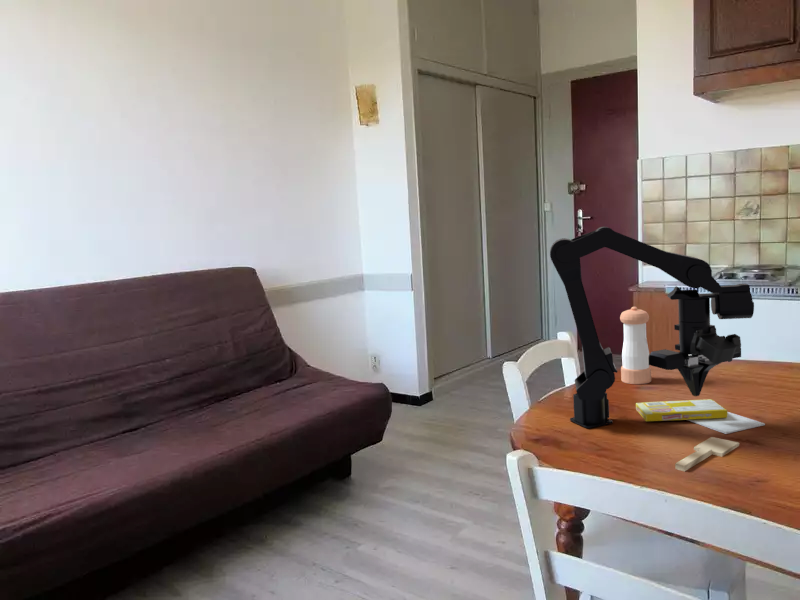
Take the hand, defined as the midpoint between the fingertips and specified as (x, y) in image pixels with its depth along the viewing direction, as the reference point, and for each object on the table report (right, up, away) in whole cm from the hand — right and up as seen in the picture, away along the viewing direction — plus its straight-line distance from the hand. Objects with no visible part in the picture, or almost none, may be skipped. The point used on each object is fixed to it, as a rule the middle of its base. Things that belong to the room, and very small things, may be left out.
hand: (695, 395), depth 132 cm
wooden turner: (-6, -8, -16) cm, 19 cm away
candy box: (-2, -4, +1) cm, 5 cm away
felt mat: (+5, -5, +2) cm, 7 cm away
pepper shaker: (0, -1, +35) cm, 35 cm away
